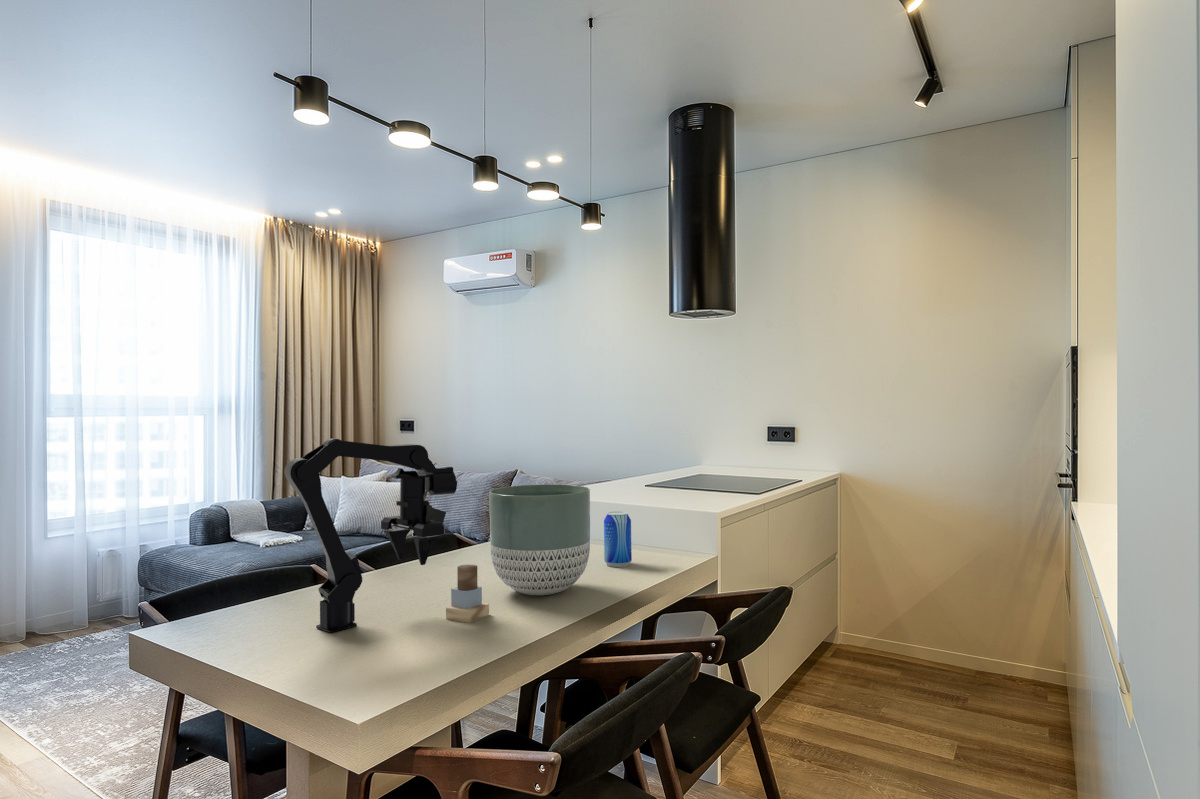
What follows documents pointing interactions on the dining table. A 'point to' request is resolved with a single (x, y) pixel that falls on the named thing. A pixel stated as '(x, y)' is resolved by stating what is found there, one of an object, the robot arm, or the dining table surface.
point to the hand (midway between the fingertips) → (411, 562)
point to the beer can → (617, 539)
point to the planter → (540, 536)
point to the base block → (467, 613)
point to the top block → (466, 598)
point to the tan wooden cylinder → (467, 577)
